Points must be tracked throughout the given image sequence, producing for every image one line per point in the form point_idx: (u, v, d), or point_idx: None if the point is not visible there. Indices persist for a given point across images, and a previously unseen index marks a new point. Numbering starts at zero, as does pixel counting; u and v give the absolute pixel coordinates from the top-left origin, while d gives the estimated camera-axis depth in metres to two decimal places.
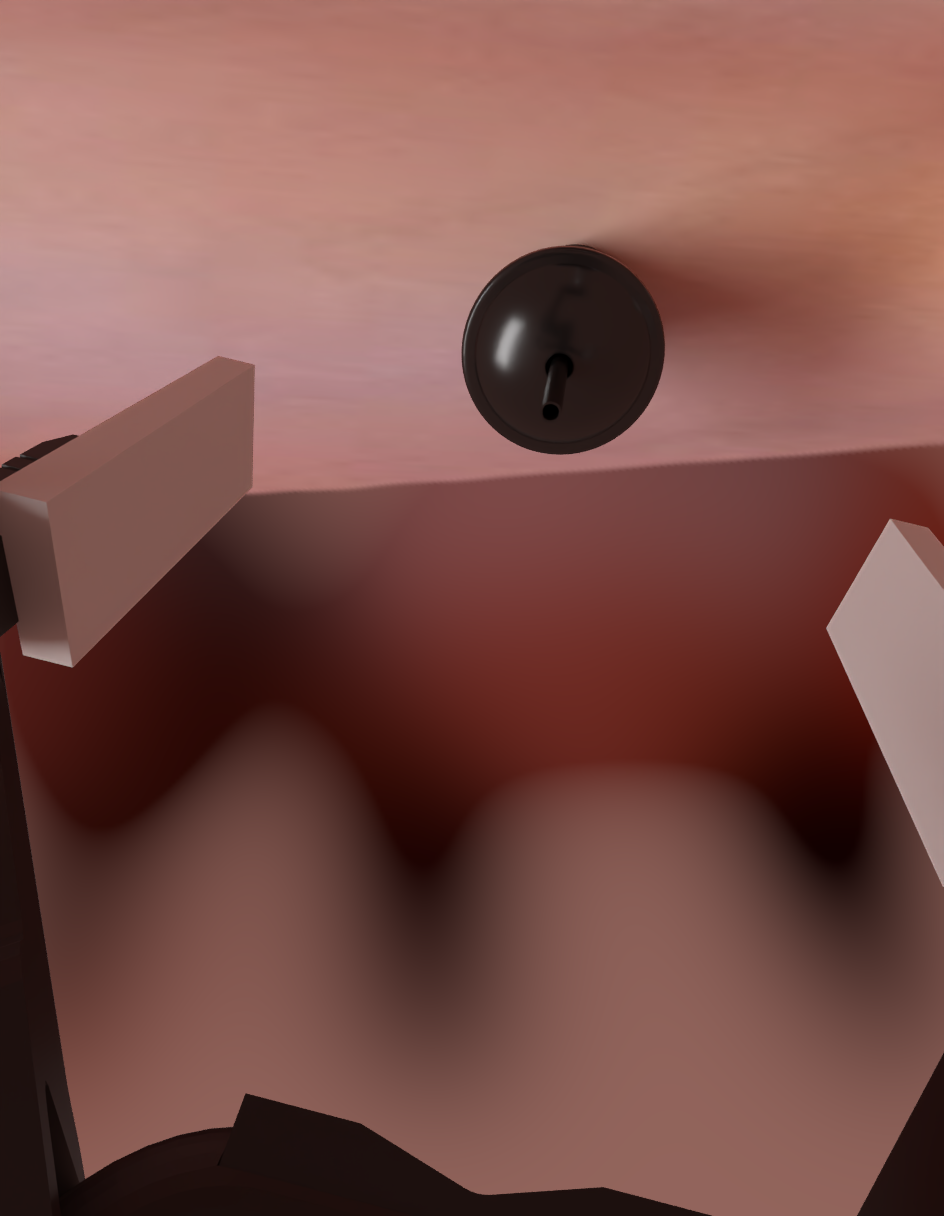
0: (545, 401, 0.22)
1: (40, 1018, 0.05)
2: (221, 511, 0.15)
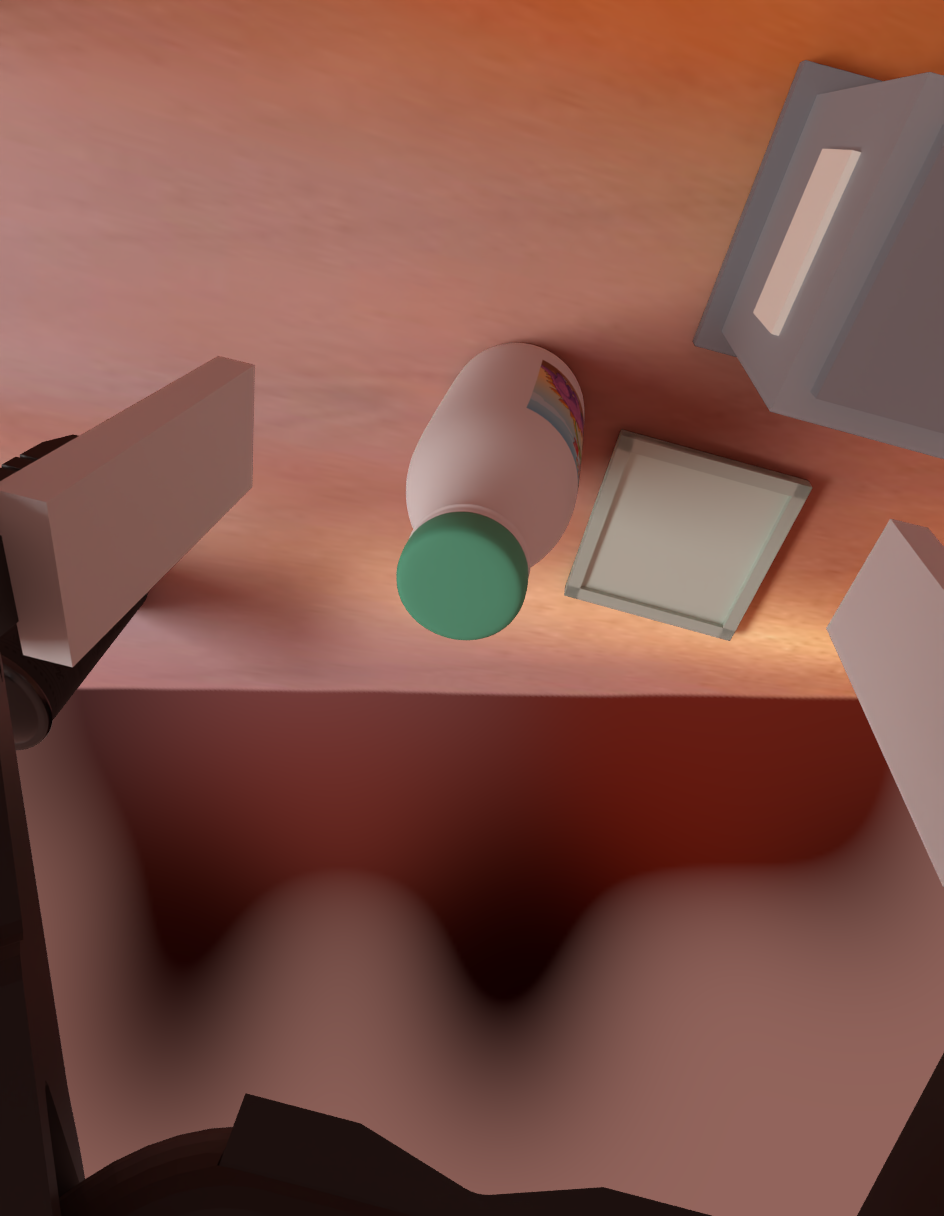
0: None
1: (40, 1018, 0.05)
2: (221, 511, 0.15)
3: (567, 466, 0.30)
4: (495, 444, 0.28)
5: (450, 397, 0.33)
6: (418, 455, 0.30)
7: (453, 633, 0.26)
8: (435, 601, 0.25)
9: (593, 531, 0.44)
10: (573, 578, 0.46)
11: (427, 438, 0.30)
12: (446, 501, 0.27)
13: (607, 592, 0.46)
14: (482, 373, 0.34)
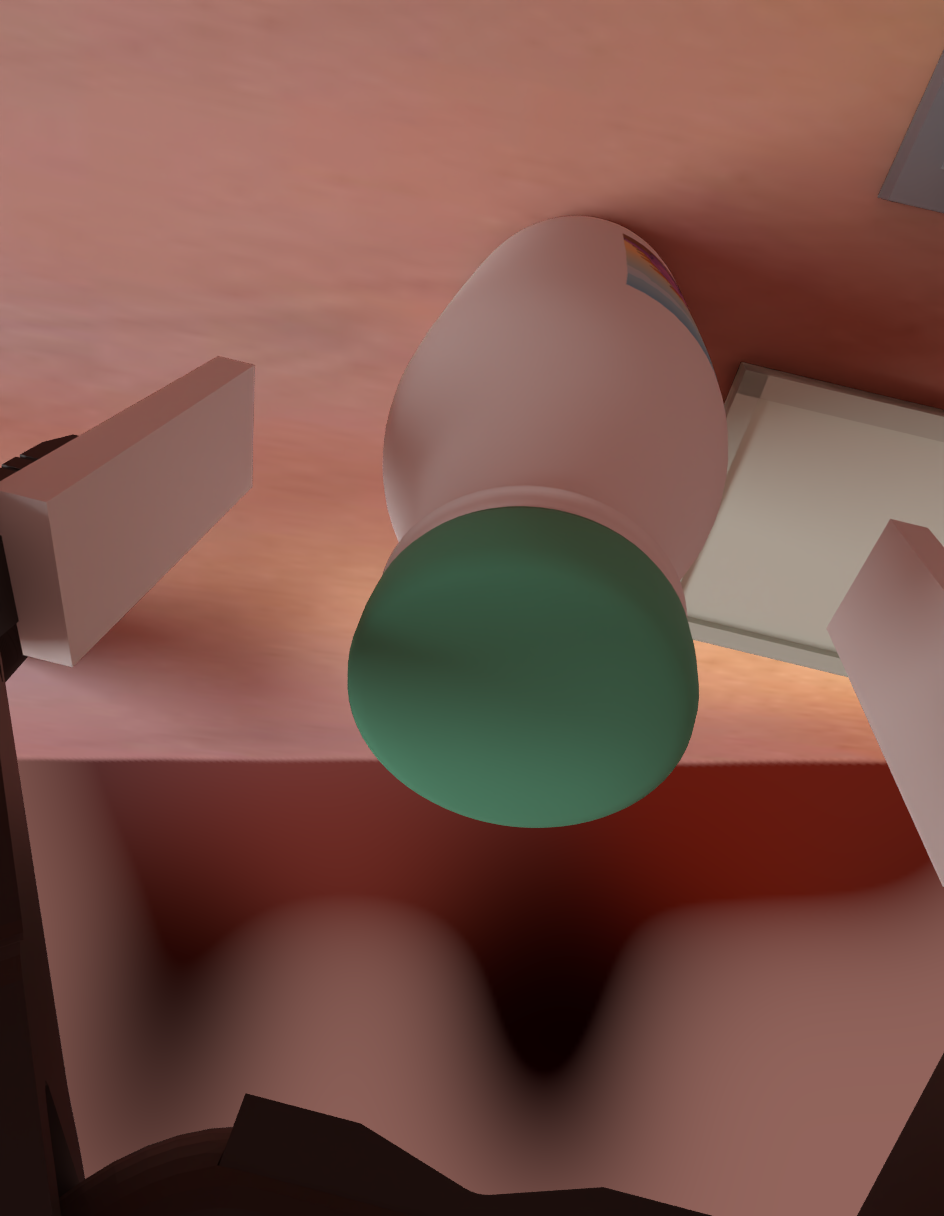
0: None
1: (40, 1018, 0.05)
2: (221, 511, 0.15)
3: (719, 402, 0.14)
4: (576, 349, 0.12)
5: (464, 288, 0.17)
6: (404, 390, 0.14)
7: (500, 816, 0.10)
8: (452, 746, 0.10)
9: None
10: None
11: (422, 354, 0.14)
12: (471, 481, 0.11)
13: (707, 620, 0.31)
14: (522, 246, 0.18)
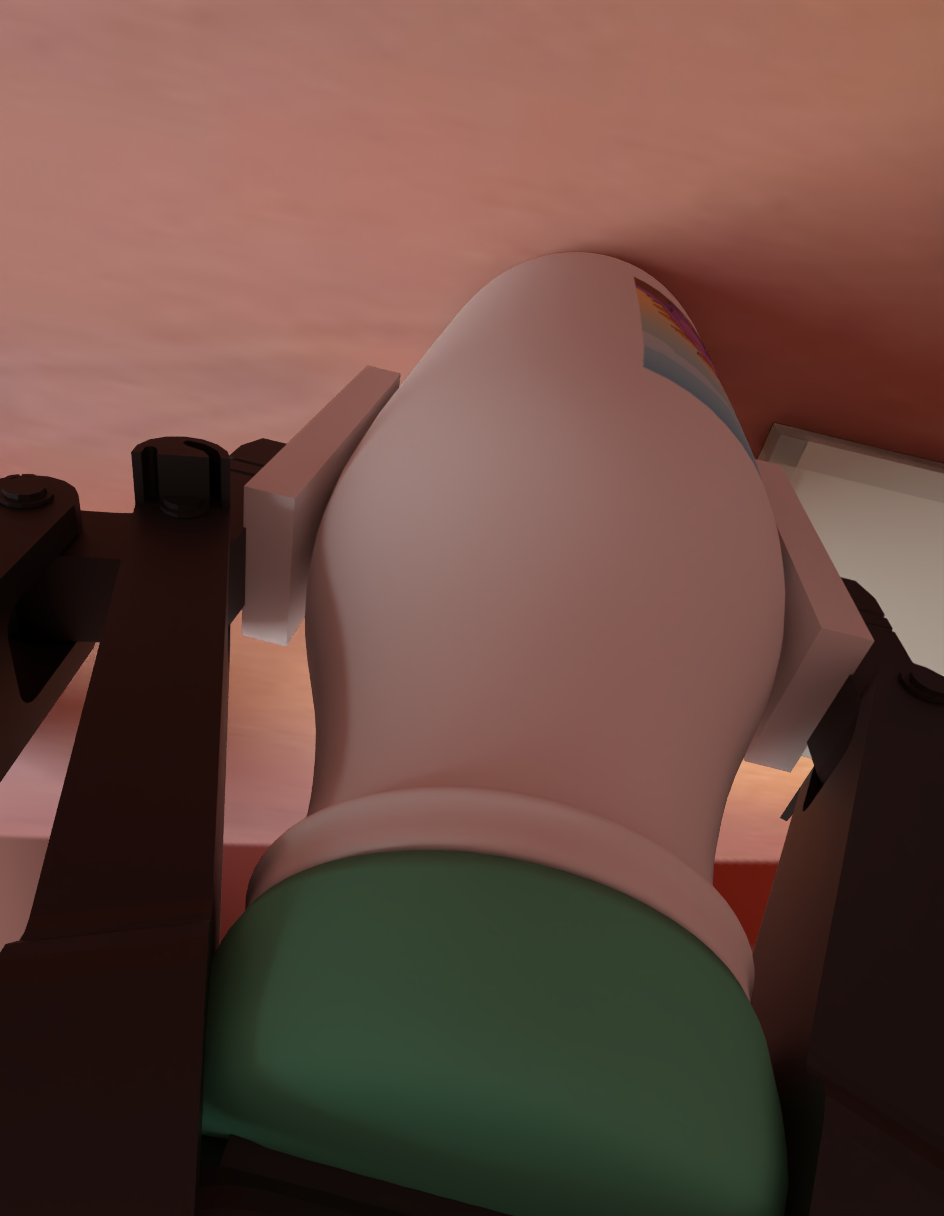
0: None
1: None
2: None
3: (774, 537, 0.10)
4: (570, 485, 0.08)
5: (428, 355, 0.13)
6: (329, 517, 0.10)
7: None
8: None
9: None
10: None
11: (356, 465, 0.10)
12: (396, 725, 0.07)
13: None
14: (505, 299, 0.14)
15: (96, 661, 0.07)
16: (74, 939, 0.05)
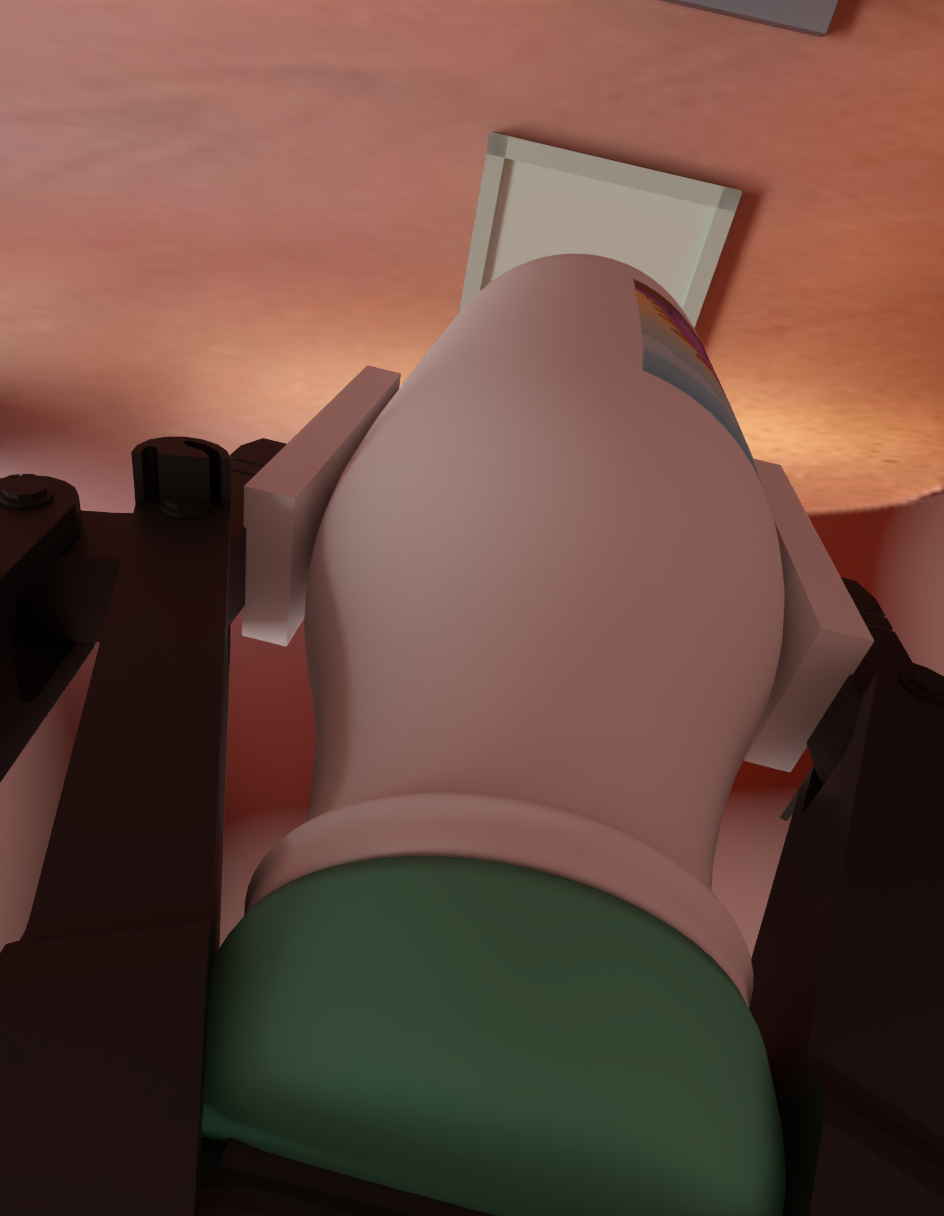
0: None
1: None
2: None
3: (774, 540, 0.10)
4: (569, 489, 0.08)
5: (428, 358, 0.13)
6: (329, 520, 0.10)
7: None
8: None
9: (471, 284, 0.34)
10: None
11: (355, 468, 0.10)
12: (396, 731, 0.07)
13: None
14: (505, 301, 0.14)
15: (96, 661, 0.07)
16: (74, 939, 0.05)
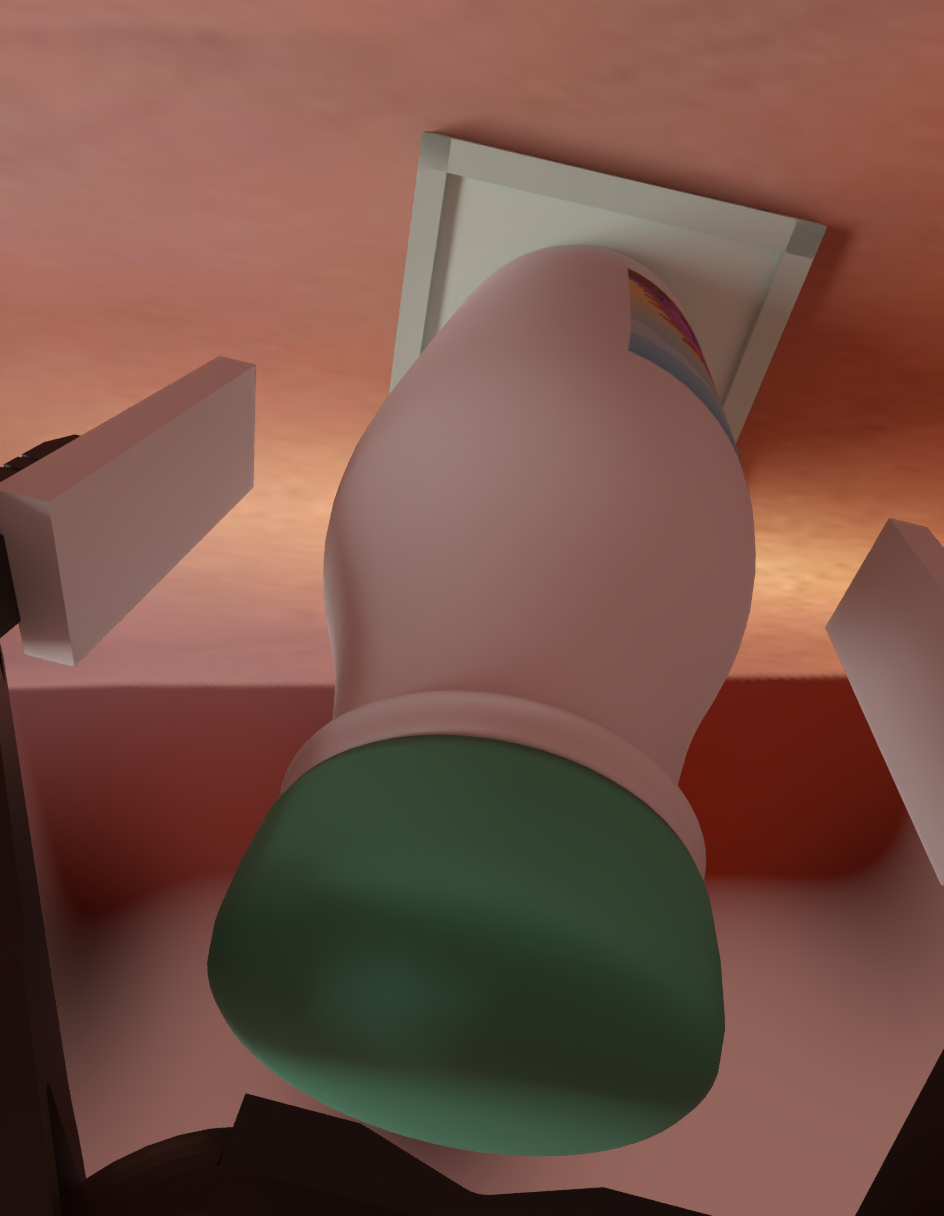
0: None
1: (42, 1017, 0.05)
2: (222, 511, 0.15)
3: (745, 503, 0.11)
4: (559, 452, 0.09)
5: (435, 341, 0.14)
6: (346, 485, 0.11)
7: (438, 1141, 0.07)
8: (363, 1071, 0.07)
9: (404, 362, 0.23)
10: None
11: (369, 439, 0.11)
12: (407, 652, 0.08)
13: None
14: (506, 289, 0.15)
15: None
16: None
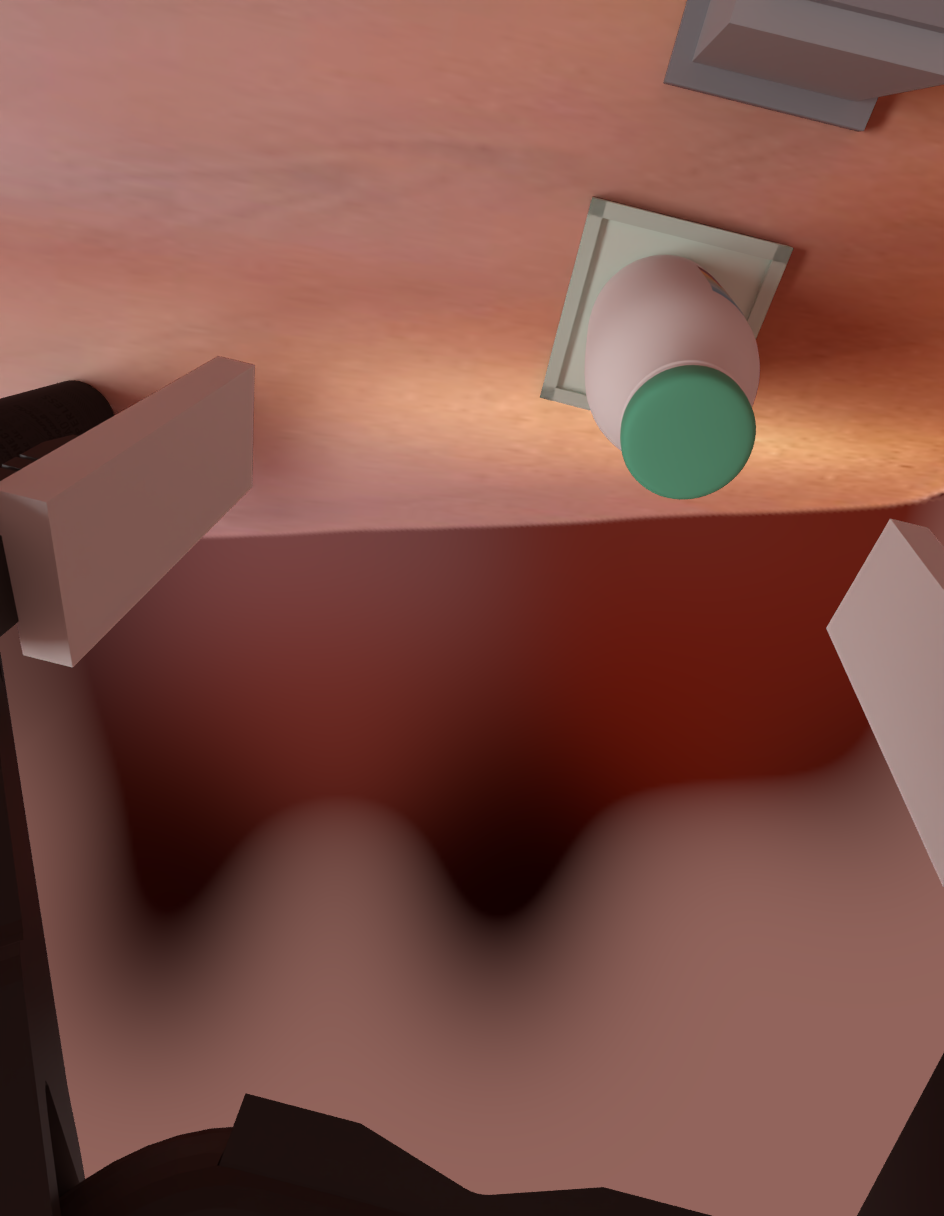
0: None
1: (40, 1018, 0.05)
2: (221, 511, 0.15)
3: (756, 346, 0.30)
4: (697, 316, 0.29)
5: (622, 292, 0.34)
6: (608, 337, 0.30)
7: (674, 491, 0.26)
8: (662, 455, 0.26)
9: (567, 316, 0.42)
10: (548, 376, 0.44)
11: (616, 320, 0.31)
12: (660, 364, 0.27)
13: (585, 393, 0.45)
14: (648, 271, 0.35)
15: None
16: None
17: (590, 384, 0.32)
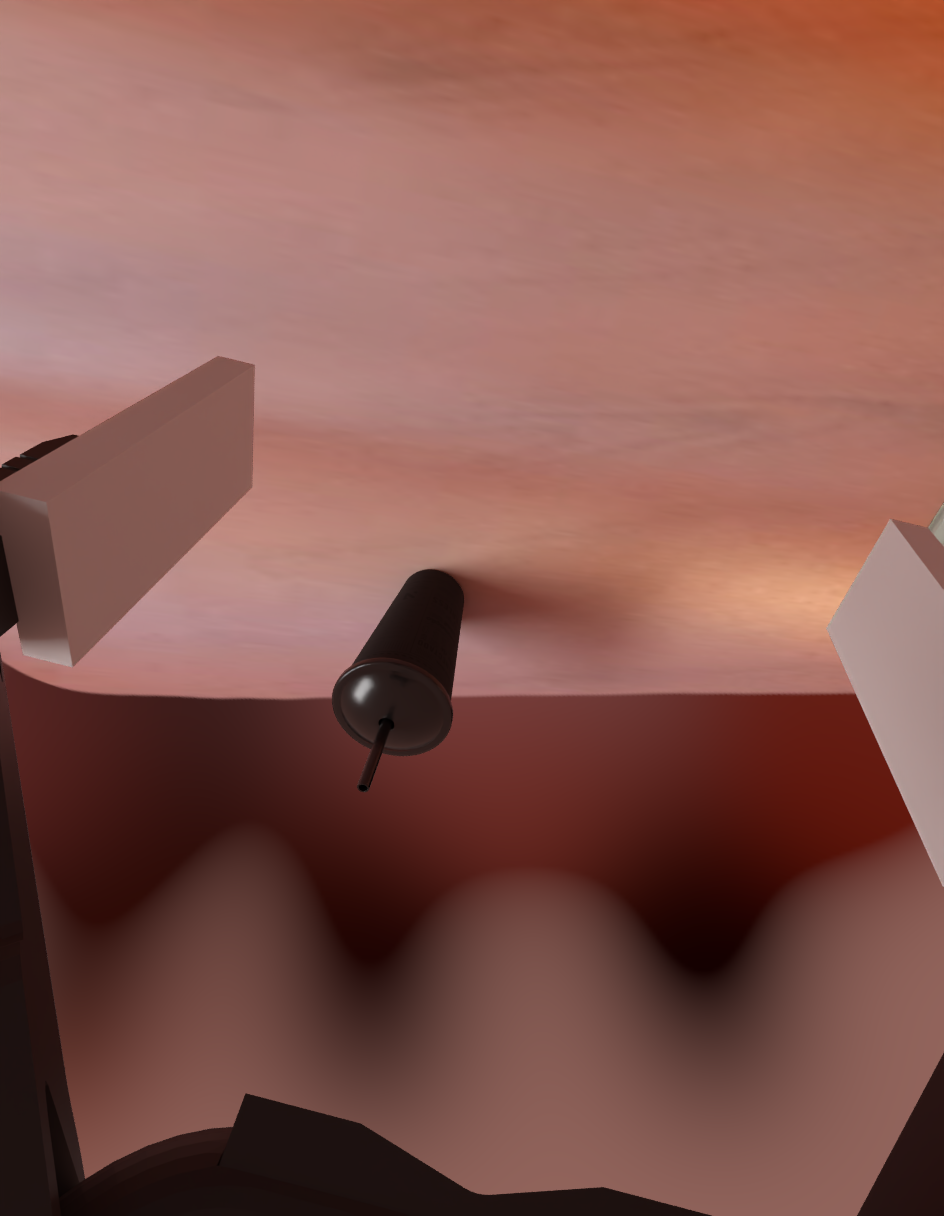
0: (360, 782, 0.40)
1: (40, 1018, 0.05)
2: (221, 511, 0.15)
3: None
4: None
5: None
6: None
7: None
8: None
9: (937, 538, 0.47)
10: None
11: None
12: None
13: None
14: None
15: None
16: None
17: None
